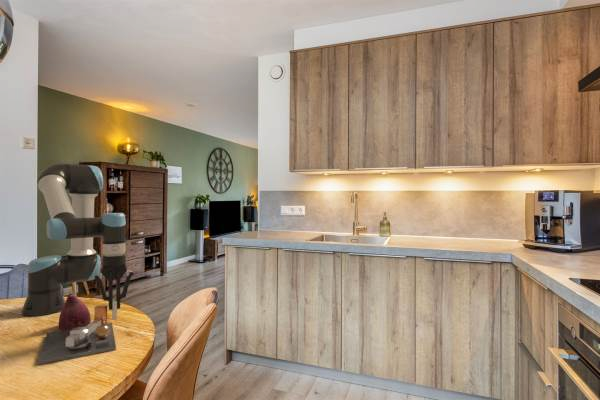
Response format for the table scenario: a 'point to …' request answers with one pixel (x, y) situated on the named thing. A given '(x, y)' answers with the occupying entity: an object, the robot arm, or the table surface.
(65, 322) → the vegetable
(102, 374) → the table surface
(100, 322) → the lever
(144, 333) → the table surface
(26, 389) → the table surface
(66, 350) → the base
